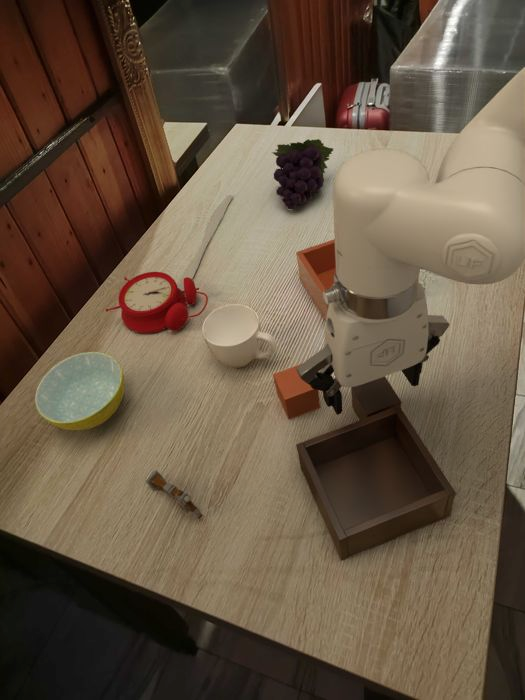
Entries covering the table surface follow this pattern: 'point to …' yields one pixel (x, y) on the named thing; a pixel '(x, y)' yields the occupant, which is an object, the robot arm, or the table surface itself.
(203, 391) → the table surface
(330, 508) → the walnut bin
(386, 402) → the walnut block
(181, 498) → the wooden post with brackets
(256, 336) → the cup
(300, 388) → the terracotta block
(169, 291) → the alarm clock
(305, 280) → the terracotta bin
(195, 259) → the butter knife
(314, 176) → the fruit
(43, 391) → the bowl
